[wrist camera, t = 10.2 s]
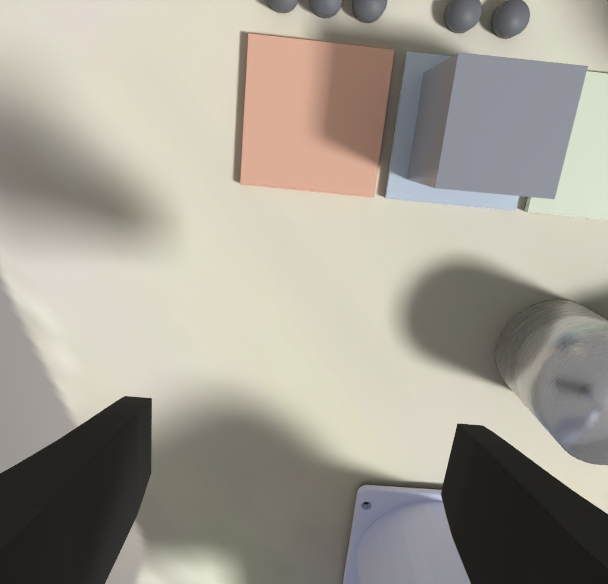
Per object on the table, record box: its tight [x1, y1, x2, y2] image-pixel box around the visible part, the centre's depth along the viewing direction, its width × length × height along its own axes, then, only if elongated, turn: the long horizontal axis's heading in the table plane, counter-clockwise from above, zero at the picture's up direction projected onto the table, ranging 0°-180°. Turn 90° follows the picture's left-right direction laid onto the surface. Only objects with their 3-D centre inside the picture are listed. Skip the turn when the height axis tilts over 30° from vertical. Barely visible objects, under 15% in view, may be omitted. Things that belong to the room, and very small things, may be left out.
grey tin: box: [496, 300, 608, 465], centre depth 19 cm, size 5×5×5 cm
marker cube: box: [407, 53, 588, 199], centre depth 16 cm, size 4×4×4 cm
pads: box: [240, 0, 608, 220], centre depth 18 cm, size 8×18×1 cm, turn 84°
